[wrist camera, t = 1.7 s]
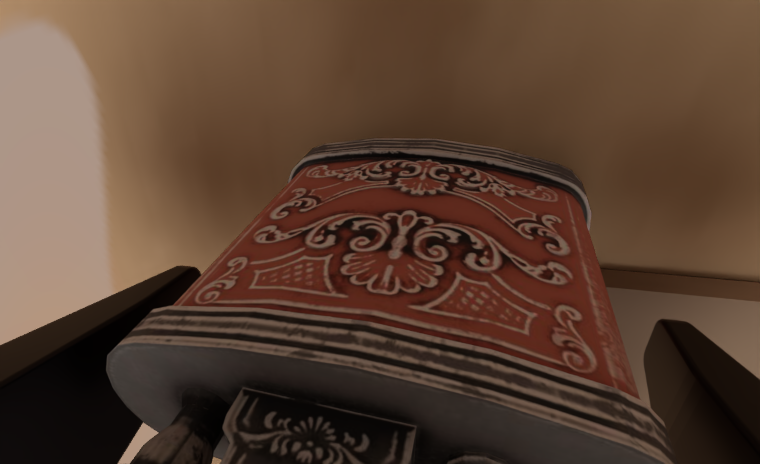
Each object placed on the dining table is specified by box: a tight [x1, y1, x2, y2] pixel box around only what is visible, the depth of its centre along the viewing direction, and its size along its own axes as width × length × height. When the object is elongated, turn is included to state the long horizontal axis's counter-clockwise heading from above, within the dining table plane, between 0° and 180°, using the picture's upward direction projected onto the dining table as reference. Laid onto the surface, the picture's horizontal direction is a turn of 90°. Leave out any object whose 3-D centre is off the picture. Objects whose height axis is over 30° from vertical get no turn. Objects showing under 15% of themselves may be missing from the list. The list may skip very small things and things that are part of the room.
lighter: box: [106, 138, 678, 464], centre depth 8 cm, size 8×3×10 cm, turn 90°
